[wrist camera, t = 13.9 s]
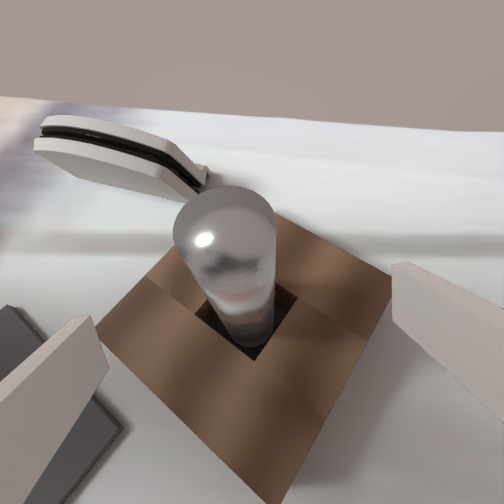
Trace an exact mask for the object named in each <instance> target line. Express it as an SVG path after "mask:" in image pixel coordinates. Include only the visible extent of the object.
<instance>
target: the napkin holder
mask: <svg viewBox="0 0 504 504" xmlns="http://www.w3.org/2000/svg"><path fill="white" fill-rule="evenodd" d="M40 128H41V129H42V134H43V136H40V137H39V138H35V141H34V152H35V153H37V154H38V155H40V156H42V157H43V158H45V159H47V160H48V161H50V162H52V163H53V164H55V165H57V166H58V167H60V168H62V169H64V170H65V171H67V172H69V173H70V174H72V175H74V176H75V177H77V178H82V179H86V180H90V181H94V182H99V183H103V184H107V185H111V186H116V187H120V188H124V189H128V190H133V191H137V192H141V193H145V194H149V195H154V196H158V197H162V198H166V199H171V200H175V201H179V202H183V203H187V202H188V201H190V200H191V199H192V198H193V197H195V196H196V195H198V193H199V191H198V190H197V189H195V188H194V187H193V186H195V187H199V188H200V187H201V185H204V186H205V180H206V175H208V176H211V171H210V170H209V168H208V167H207V166H205V165H200V164H195V163H193V162H192V161H191V160H190V159H189V158H188V157H187V156H186V155H185V154H184V153H183V152H182V151H181V150H180V149H179V148H178V147H177V146H176V145H175V144H174V143H172V142H171V141H169V140H167V139H164V138H161V137H158V136H155V135H153V134H150V133H147V132H144V131H140V130H137V129H134V128H131V127H127V126H123V125H120V124H116V123H112V122H108V121H103V120H99V119H93V118H87V117H80V116H69V115H57V116H49V117H47V118H46V119H45V120H44V122H43V123H42V124H41V126H40Z"/></svg>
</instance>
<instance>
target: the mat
mask: <svg viewBox="0 0 504 504" xmlns="http://www.w3.org/2000/svg"><path fill="white" fill-rule="evenodd" d="M44 343H45V341H44V340H43V339H42V338H41V337H40V336H39V334H38V333H37V332H36V331H35V330H34V329H33V328H32V327H31V326H30V324H29V323H28V322H27V321H26V320H25V319H24V318H23V317H22V316H21V315H20V313H19V312H18V311H17V310H16V309H15V308H14V307H12V306H9V305H6V306H5V307H4V308H2V309H1V310H0V382H1V381H2V380H3V379H4V378H5V377H6V376H8V375H9V374H10V373H11V372H12V371H13V370H14V369H15V368H17V367H18V366H19V365H20V364H21V363H22V362H23V361H25V360H26V359H27V358H28V357H29V356H30V355H31V354H32V353H34V352H35V351H36V350H37V349H38V348H39V347H40V346H41V345H43V344H44ZM122 429H123V427H122V426H121V425H120V424H119V423H118V422H117V421H116V420H115V419H114V417H113V416H112V415H111V414H110V413H109V412H108V411H107V410H106V409H105V407H104V406H103V405H102V404H101V403H100V402H99V401H98V400H97V399H96V398H95V396H94V395H92V397H91V398H90V400H89V402H88V403H87V405H86V406H85V408H84V409H83V411H82V413H81V414H80V416H79V417H78V419H77V420H76V422H75V423H74V425H73V427H72V428H71V430H70V431H69V433H68V434H67V436H66V437H65V439H64V441H63V442H62V444H61V445H60V447H59V448H58V450H57V451H56V453H55V455H54V456H53V458H52V459H51V461H50V462H49V464H48V465H47V467H46V469H45V470H44V472H43V473H42V475H41V476H40V478H39V479H38V481H37V483H36V484H35V486H34V487H33V489H32V490H31V492H30V493H29V495H28V497H27V498H26V500H25V501H24V503H23V504H63V503H64V501H65V500H66V499H67V498H68V496H69V495H70V494H71V493H72V491H73V490H74V489H75V488H76V486H77V485H78V484H79V483H80V481H81V480H82V479H83V478H84V476H85V475H86V474H87V473H88V471H89V470H90V469H91V468H92V466H93V465H94V464H95V463H96V462H97V460H98V459H99V458H100V457H101V455H102V454H103V453H104V452H105V450H106V449H107V448H108V447H109V445H110V444H111V443H112V442H113V440H114V439H115V438H116V437H117V435H118V434H119V433H120V432H121V430H122Z"/></svg>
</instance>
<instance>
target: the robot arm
mask: <svg viewBox="0 0 504 504" xmlns="http://www.w3.org/2000/svg"><path fill="white" fill-rule="evenodd" d="M392 321H393V322H394V323H395V324H396V325H398V326H399V327H400V328H401V329H402V330H403V331H404V332H405V333H406V334H407V335H408V336H409V337H411V338H412V339H413V340H414V341H415V342H416V343H417V344H418V345H419V346H420V347H421V348H423V349H424V350H425V351H426V352H427V353H428V354H429V355H430V356H431V357H432V358H433V359H434V360H436V361H437V362H438V363H439V364H440V365H441V366H442V367H443V368H444V369H445V370H446V371H448V372H449V373H450V374H451V375H452V376H453V377H454V378H455V379H456V380H457V381H458V382H459V383H461V384H462V385H463V386H464V387H465V388H466V389H467V390H468V391H469V392H470V393H471V394H472V395H474V396H475V397H476V398H477V399H478V400H479V401H480V402H481V403H482V404H483V405H484V406H486V407H487V408H488V409H489V410H490V411H491V412H492V413H493V414H494V415H495V416H496V417H497V418H499V419H500V420H501V421H502V422H503V423H504V309H502V308H500V307H498V306H496V305H494V304H492V303H490V302H488V301H486V300H484V299H482V298H480V297H478V296H476V295H474V294H472V293H470V292H468V291H466V290H464V289H462V288H460V287H458V286H456V285H454V284H452V283H450V282H448V281H446V280H444V279H442V278H440V277H438V276H436V275H434V274H432V273H430V272H428V271H426V270H424V269H422V268H420V267H418V266H416V265H414V264H412V263H410V262H405V263H399V264H393V265H392ZM108 370H109V366H108V363H107V360H106V358H105V355H104V352H103V349H102V346H101V343H100V341H99V338H98V335H97V332H96V329H95V327H94V324H93V321H92V318H91V315H88V316H82V317H76V318H72V319H71V320H70V321H69V322H67V323H66V324H65V325H64V326H63V327H62V328H61V329H60V330H58V331H57V332H56V333H55V334H54V335H53V336H52V337H50V338H49V339H48V340H47V341H46V342H45V343H44V344H43V345H41V346H40V347H39V348H38V349H37V350H36V351H35V352H34V353H32V354H31V355H30V356H29V357H28V358H27V359H26V360H25V361H23V362H22V363H21V364H20V365H19V366H18V367H17V368H15V369H14V370H13V371H12V372H11V373H10V374H9V375H8V376H6V377H5V378H4V379H3V380H2V381H1V382H0V504H23V503H24V501H25V500H26V498H27V497H28V495H29V493H30V492H31V490H32V489H33V487H34V486H35V484H36V483H37V481H38V479H39V478H40V476H41V475H42V473H43V472H44V470H45V469H46V467H47V465H48V464H49V462H50V461H51V459H52V458H53V456H54V455H55V453H56V451H57V450H58V448H59V447H60V445H61V444H62V442H63V441H64V439H65V437H66V436H67V434H68V433H69V431H70V430H71V428H72V427H73V425H74V423H75V422H76V420H77V419H78V417H79V416H80V414H81V413H82V411H83V409H84V408H85V406H86V405H87V403H88V402H89V400H90V398H91V397H92V395H93V394H94V392H95V391H96V389H97V388H98V386H99V384H100V383H101V381H102V380H103V378H104V377H105V375H106V374H107V372H108Z"/></svg>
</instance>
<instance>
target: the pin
mask: <svg viewBox="0 0 504 504" xmlns="http://www.w3.org/2000/svg"><path fill="white" fill-rule="evenodd" d="M173 240H174V244H175V247H176V249H177V251H178V253H179V254H180V256H181V258H182V259H183V261H184V262H185V264H186V266H187V267H188V269H189V270H190V272H191V273H192V275H193V277H194V278H195V280H196V281H197V283H198V285H199V286H200V288H201V289H202V291H203V292H204V294H205V296H206V297H207V299H208V300H209V302H210V304H211V305H212V307H213V308H214V310H215V311H216V313H217V315H218V316H219V318H220V319H221V321H222V323H223V324H224V326H225V327H226V329H227V331H228V332H229V334H230V335H231V337H232V338H233V339H234V341H236V342H237V343H238V344H240V345H242V346H246V347H255V346H258V345H261V344H263V343H264V342H265V341H266V340H267V339H268V338H269V337H270V335H271V333H272V331H273V327H274V298H275V262H276V217H275V214H274V211H273V209H272V207H271V206H270V205H269V203H268V202H267V201H266V200H265V199H264V198H263V197H262V196H260V195H259V194H257V193H256V192H254V191H251V190H249V189H246V188H242V187H236V186H223V187H217V188H212V189H209V190H206V191H204V192H202V193H200V194H198V195H196V196H195V197H193V198H192V199H191V200H190V201H188V202H187V203H186V204H185V205H184V207H183V208H182V209H181V211H180V212H179V214H178V216H177V217H176V220H175V223H174V227H173Z"/></svg>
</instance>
